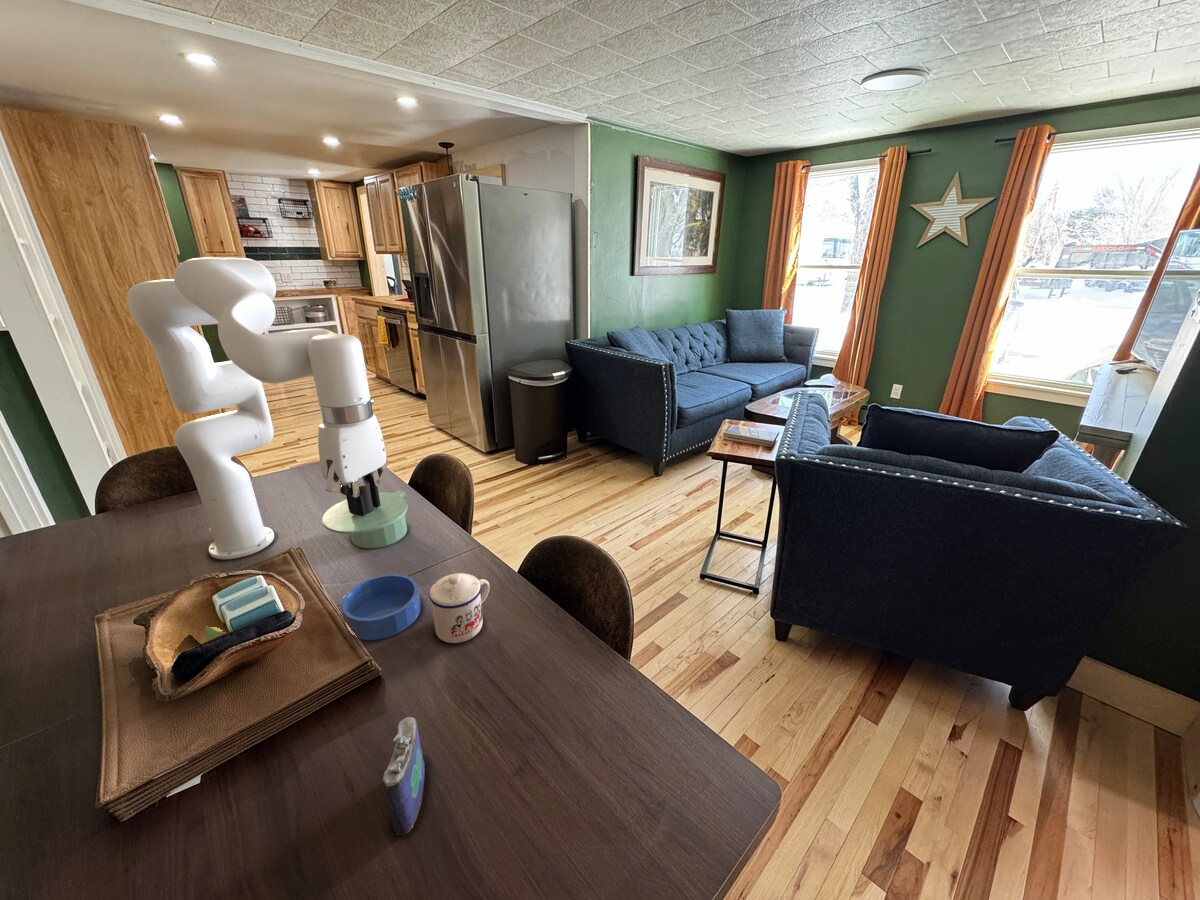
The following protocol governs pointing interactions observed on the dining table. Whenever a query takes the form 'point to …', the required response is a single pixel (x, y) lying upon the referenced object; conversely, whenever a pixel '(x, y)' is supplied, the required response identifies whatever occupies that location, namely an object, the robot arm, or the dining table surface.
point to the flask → (405, 777)
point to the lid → (375, 517)
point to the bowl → (381, 606)
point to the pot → (382, 532)
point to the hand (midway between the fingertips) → (365, 509)
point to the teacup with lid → (458, 606)
